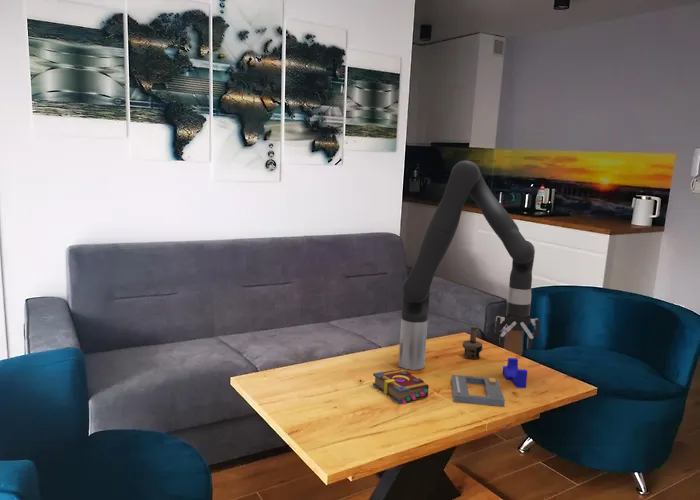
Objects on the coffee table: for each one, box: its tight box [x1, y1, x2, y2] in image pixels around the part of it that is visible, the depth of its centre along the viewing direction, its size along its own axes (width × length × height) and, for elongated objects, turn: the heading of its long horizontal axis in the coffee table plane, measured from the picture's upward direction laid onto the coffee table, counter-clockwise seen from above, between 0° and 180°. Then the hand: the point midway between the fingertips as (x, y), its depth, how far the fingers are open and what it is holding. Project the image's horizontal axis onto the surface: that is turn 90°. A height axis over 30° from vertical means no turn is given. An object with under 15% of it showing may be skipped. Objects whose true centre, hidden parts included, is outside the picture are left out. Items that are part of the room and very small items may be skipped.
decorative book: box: [372, 368, 430, 405], centre depth 173 cm, size 11×16×5 cm
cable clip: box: [501, 357, 528, 389], centre depth 187 cm, size 12×4×6 cm, turn 0°
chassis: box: [450, 374, 506, 407], centre depth 176 cm, size 15×17×3 cm
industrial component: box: [462, 325, 484, 360], centre depth 208 cm, size 9×7×12 cm
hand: (515, 347), depth 185 cm, fingers open, 8 cm apart
